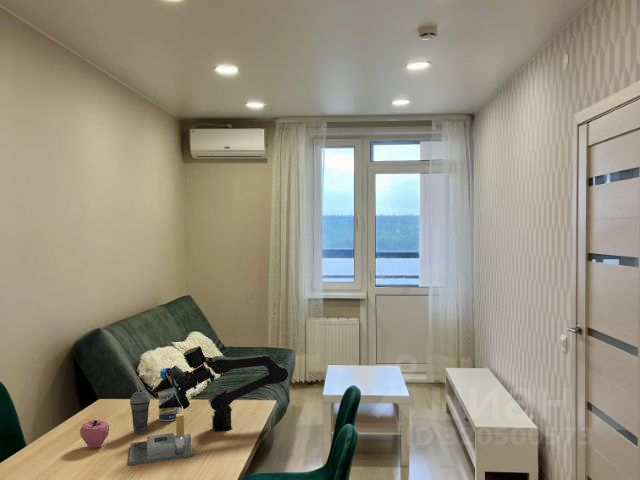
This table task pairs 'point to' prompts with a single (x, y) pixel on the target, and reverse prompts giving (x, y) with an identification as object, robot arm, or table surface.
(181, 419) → the pale yellow rectangular prism
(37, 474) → the table surface
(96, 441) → the apple
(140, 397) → the beverage cup
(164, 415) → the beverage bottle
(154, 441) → the gray tray
